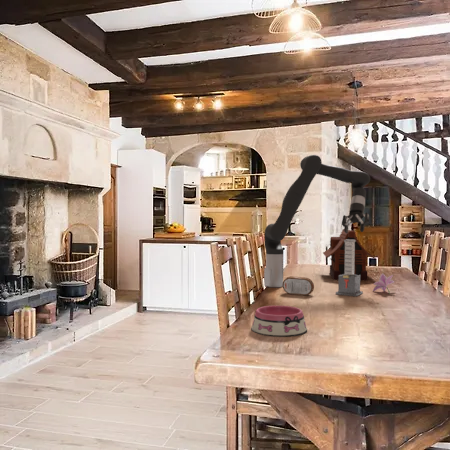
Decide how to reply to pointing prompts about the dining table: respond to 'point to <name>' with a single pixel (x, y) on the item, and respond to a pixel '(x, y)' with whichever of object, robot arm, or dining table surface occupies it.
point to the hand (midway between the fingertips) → (353, 231)
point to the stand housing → (349, 285)
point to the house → (339, 256)
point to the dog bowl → (279, 321)
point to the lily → (383, 282)
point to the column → (349, 257)
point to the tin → (298, 285)
